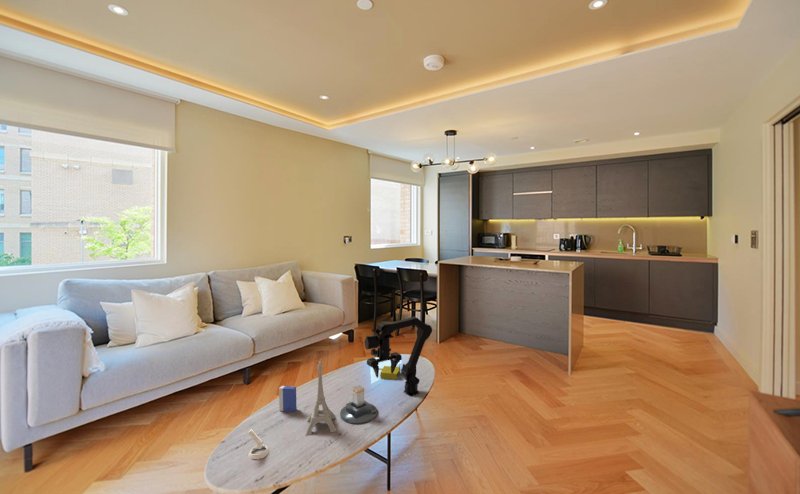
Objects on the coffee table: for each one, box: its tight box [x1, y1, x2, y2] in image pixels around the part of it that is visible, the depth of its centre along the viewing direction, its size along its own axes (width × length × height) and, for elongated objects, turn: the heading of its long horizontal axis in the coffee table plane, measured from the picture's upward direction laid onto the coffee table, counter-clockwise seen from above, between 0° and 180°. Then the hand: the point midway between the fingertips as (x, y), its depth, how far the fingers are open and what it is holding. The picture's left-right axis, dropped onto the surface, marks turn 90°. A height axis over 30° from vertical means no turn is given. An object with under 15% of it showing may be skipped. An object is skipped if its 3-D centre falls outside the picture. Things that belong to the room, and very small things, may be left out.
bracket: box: [379, 364, 401, 381], centre depth 209 cm, size 16×8×15 cm
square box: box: [352, 384, 365, 409], centre depth 165 cm, size 4×4×12 cm
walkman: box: [278, 385, 297, 413], centre depth 169 cm, size 8×3×12 cm, turn 81°
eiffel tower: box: [304, 360, 337, 436], centre depth 155 cm, size 13×13×30 cm
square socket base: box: [339, 399, 378, 425], centre depth 165 cm, size 18×18×4 cm
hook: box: [247, 428, 270, 460], centre depth 136 cm, size 8×12×7 cm
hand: (384, 375), depth 179 cm, fingers open, 9 cm apart
